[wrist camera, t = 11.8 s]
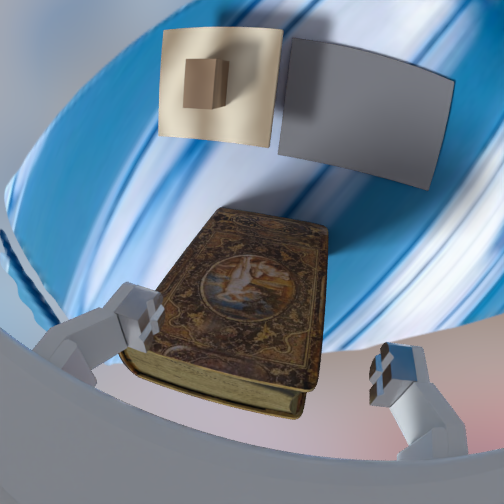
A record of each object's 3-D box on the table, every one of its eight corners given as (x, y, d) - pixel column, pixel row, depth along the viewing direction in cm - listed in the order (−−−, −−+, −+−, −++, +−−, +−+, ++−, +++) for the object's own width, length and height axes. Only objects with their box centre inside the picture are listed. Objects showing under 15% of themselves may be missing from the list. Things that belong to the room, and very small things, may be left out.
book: (212, 238, 44) (126, 372, 24) (212, 206, 41) (110, 335, 21) (320, 258, 42) (302, 421, 21) (328, 225, 39) (318, 391, 18)
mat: (452, 81, 24) (454, 81, 24) (427, 189, 32) (428, 190, 32) (293, 38, 27) (292, 37, 26) (278, 153, 35) (277, 154, 35)
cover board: (283, 30, 23) (276, 21, 19) (269, 146, 30) (260, 156, 26) (167, 31, 24) (144, 26, 21) (161, 134, 32) (139, 143, 28)
